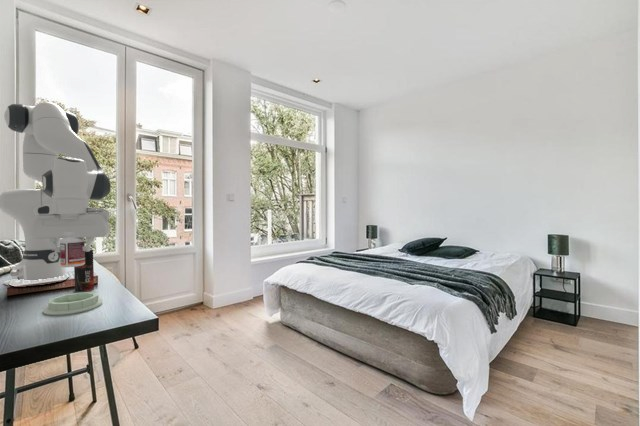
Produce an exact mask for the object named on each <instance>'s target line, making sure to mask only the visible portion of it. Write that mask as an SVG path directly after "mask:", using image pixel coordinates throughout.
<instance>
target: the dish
mask: <svg viewBox="0 0 640 426" xmlns="http://www.w3.org/2000/svg"><path fill="white" fill-rule="evenodd" d="M47 301H48V302H47V305H46V306H44V308H42V314H44V315H47V316H65V315H72V314H77V313H79V314H80V313H83V312H87V311H90V310H94V309H97V308H98V307H101V306H102V305H103V299H102V298H100V297H99V295H98V293H97V292H91V291H80V292H73V293H68V294H63V295H62V294H61V295H59V296H54V297H52V298H50V299H48V300H47Z"/></svg>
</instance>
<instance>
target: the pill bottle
mask: <svg viewBox="0 0 640 426" xmlns="http://www.w3.org/2000/svg"><path fill="white" fill-rule="evenodd" d="M63 235H64V236H65V238H61V240H60V264H61V267H66V268H74V267H77V266H82V265H84V264H85V252H83V251H82V250H83V249H82V246H86V244H85V237H84V238H75V237H74V235H75V232H64V233H63Z"/></svg>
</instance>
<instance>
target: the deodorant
mask: <svg viewBox="0 0 640 426" xmlns="http://www.w3.org/2000/svg"><path fill="white" fill-rule="evenodd" d="M73 269H74V272H73V273H74V292H77V293H81V292H89V291H91V290H94V289H95V278H94V277H95V275H94V271H95V270H94V250H93V249H91V248H90V251H89V252H85V264H84V265H82V266H77V267H73Z"/></svg>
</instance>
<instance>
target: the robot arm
mask: <svg viewBox="0 0 640 426" xmlns="http://www.w3.org/2000/svg"><path fill="white" fill-rule="evenodd" d="M3 116H4V121H5V123H6V125H7V127H8V128H9V129H10V130H11V131H13V132H16V133H19V134H23V133H24V137H23V141H22V168H23V169H22V171H23V173H24V175H25V176H27V177H28V178H30V179H32V180H35V181H38V182H40V183H42V188H14V189H13V188H12V189H7V190H4V191H3V192H1V194H0V210H1V211H2V213H4V214H6V215H8V216H9V217H11V218H12V219H13V220H15V221H16V222H17V223H18V224H19V225H20V227H21V228H22V232H23V234H24V243H25V244H24V245H25V249H24V250H23V251H21V253H22V260H21V261H20V262H19V263H17V264H16V265H15V266H14V267H13V268H12V269H11V270H10V276H11V279H18V280H20V279H24V280H38V279H47V278H54V277H59V276H63V275H65V274H67V267H61V264H60V240H61V239H63V238H65V236H64V235H63V233H64V232H75V235H74V237H75V238H84V239H85V240H86V244H85V246H82V249H83V250H82V251H83V252H89V251H90V249H91V246H92V244H93V242H94V241H95V238H105V237H108V236H109V235H110V233H111V230H110V229H111V228H110V223H109V220H110V213H109V211H108V210H106V209H105V208H92V207H91V208H90V200H91V201H101V200H103V199H104V198H105V197H107V196H108V195H109V194H110V192H111V182H110V178H109V176H108V175H107V174H106V173H105V172H104V171H103V169H102V167H101V166H100V163H99V162H98V160H97V158H96V156H95V154H94V153H93V151H92V149H91V148H90V146H89V144H88V143H87V142H86V141H85V140H83V139H82V138H81V137H79V136H78V132H79V130H80V122H79V119H78V117H77V115H76V114H74V113H72V112H68V111H66V110H63V108H61V107H60V106H59V105H58V104H56V103H53V102H47V101H44V102H39V103H38V104H35V105H28V104H27V105H24V104H22V103H11V104H10V105H8V106H7V108H6V110H5V111H4V115H3ZM59 154H60V155H64V156H59ZM66 156H67V157H66ZM11 279H8V280H4V281H3V285H6V286H9V285H8V284H9V281H10V280H11Z"/></svg>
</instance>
